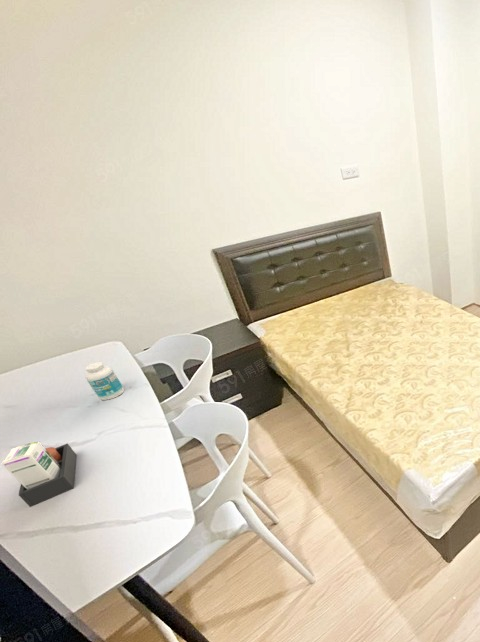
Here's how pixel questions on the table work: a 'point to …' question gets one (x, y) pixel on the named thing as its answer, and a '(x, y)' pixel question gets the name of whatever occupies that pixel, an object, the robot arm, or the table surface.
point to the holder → (53, 480)
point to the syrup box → (31, 465)
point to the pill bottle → (103, 381)
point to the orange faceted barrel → (54, 453)
